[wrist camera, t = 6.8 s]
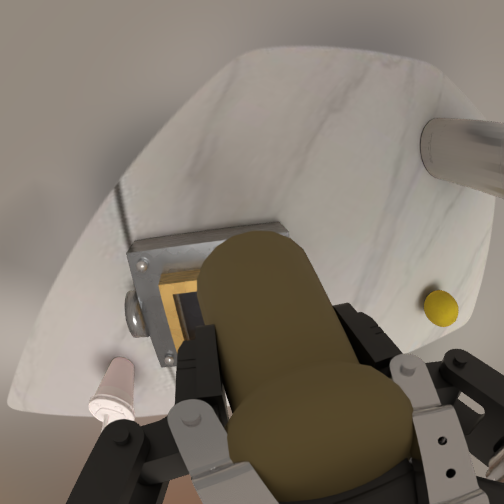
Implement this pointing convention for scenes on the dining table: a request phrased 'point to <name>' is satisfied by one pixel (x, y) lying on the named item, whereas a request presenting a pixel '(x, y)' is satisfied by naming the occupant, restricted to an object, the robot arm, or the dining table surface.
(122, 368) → the smoothie
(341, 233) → the dining table surface
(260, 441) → the olive pestle shaped cylinder
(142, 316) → the square socket fixture
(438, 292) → the lemon
